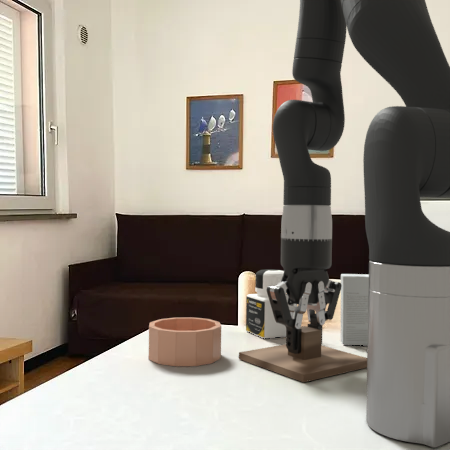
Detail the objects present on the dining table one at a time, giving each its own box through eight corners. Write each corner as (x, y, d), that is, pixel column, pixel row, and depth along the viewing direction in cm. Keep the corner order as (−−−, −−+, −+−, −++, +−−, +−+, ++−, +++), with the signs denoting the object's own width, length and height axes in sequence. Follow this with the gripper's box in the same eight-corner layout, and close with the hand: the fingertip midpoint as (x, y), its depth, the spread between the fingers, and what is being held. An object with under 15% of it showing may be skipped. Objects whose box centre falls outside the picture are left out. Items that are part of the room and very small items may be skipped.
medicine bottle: (245, 331, 102) (246, 268, 101) (277, 328, 105) (278, 267, 104) (263, 339, 95) (264, 272, 95) (297, 336, 98) (298, 271, 98)
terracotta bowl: (234, 359, 82) (234, 326, 82) (171, 370, 75) (172, 335, 75) (195, 344, 91) (195, 315, 91) (136, 353, 84) (136, 321, 84)
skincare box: (373, 341, 95) (375, 274, 95) (378, 347, 91) (379, 276, 91) (339, 340, 96) (340, 273, 96) (342, 345, 91) (343, 275, 91)
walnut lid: (372, 366, 79) (372, 332, 78) (303, 382, 70) (304, 344, 70) (304, 346, 90) (305, 317, 90) (238, 358, 82) (239, 326, 82)
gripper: (288, 237, 73) (286, 363, 73) (357, 236, 81) (355, 349, 81) (253, 235, 79) (251, 352, 79) (321, 234, 87) (319, 340, 87)
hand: (304, 350), depth 80 cm, fingers closed on walnut lid, 3 cm apart
